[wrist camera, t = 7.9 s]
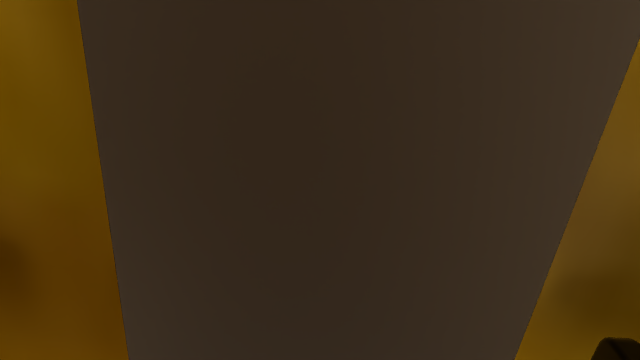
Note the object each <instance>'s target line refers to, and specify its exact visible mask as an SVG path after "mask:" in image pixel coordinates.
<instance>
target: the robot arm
mask: <svg viewBox="0 0 640 360" xmlns="http://www.w3.org/2000/svg"><path fill="white" fill-rule="evenodd" d="M591 360H640V344H639V343H638V342H637V341H635V340H633V339H629V338H613V337H607V338H604V339H603V340H601V341H600V343H599V344H598V346H597V348H596V350H595V352H594V354H593V356H592V358H591Z"/></svg>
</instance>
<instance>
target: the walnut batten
mask: <svg viewBox="0 0 640 360" xmlns="http://www.w3.org/2000/svg"><path fill="white" fill-rule="evenodd" d="M77 4H78V11H79V18H80V25H81V32H82V39H83V46H84V53H85V59H86V66H87V73H88V80H89V87H90V94H91V101H92V108H93V115H94V121H95V128H96V135H97V142H98V149H99V156H100V163H101V170H102V177H103V184H104V190H105V197H106V204H107V211H108V218H109V225H110V232H111V239H112V246H113V252H114V259H115V266H116V273H117V280H118V287H119V294H120V301H121V308H122V315H123V321H124V328H125V335H126V342H127V349H128V356H129V360H514V359H515V357H516V354H517V351H518V349H519V346H520V344H521V341H522V339H523V336H524V333H525V331H526V328H527V326H528V323H529V321H530V318H531V316H532V313H533V310H534V308H535V305H536V303H537V300H538V298H539V295H540V292H541V290H542V287H543V285H544V282H545V280H546V277H547V274H548V272H549V269H550V267H551V264H552V262H553V259H554V256H555V254H556V251H557V249H558V246H559V244H560V241H561V239H562V236H563V233H564V231H565V228H566V226H567V223H568V221H569V218H570V215H571V213H572V210H573V208H574V205H575V203H576V200H577V197H578V195H579V192H580V190H581V187H582V185H583V182H584V180H585V177H586V174H587V172H588V169H589V167H590V164H591V162H592V159H593V156H594V154H595V151H596V149H597V146H598V144H599V141H600V138H601V136H602V133H603V131H604V128H605V126H606V123H607V120H608V118H609V115H610V113H611V110H612V108H613V105H614V103H615V100H616V97H617V95H618V92H619V90H620V87H621V85H622V82H623V79H624V77H625V74H626V72H627V69H628V67H629V64H630V61H631V59H632V56H633V54H634V51H635V49H636V46H637V43H638V41H639V38H640V0H77Z"/></svg>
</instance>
